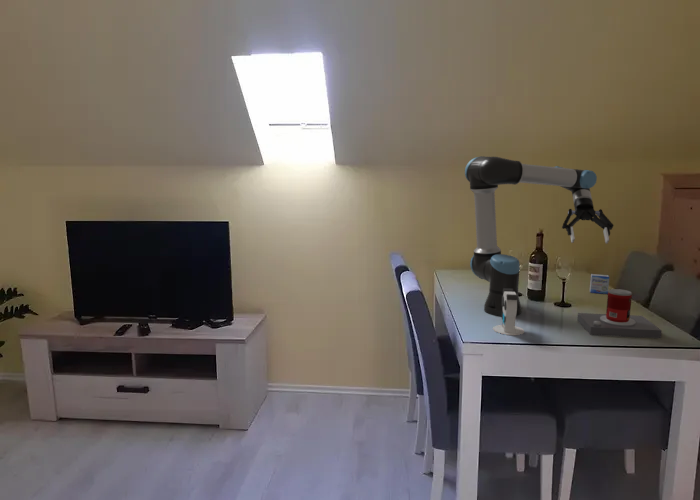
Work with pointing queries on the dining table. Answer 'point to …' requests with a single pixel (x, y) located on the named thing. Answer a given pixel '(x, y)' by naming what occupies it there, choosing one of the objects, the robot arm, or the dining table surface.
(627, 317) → the canned food
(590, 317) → the mount
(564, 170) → the robot arm
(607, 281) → the medicine box
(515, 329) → the white upright stand
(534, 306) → the dining table surface
